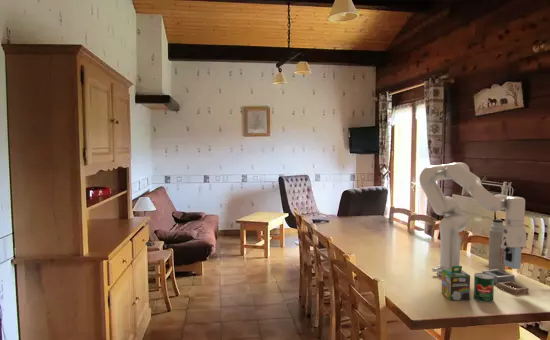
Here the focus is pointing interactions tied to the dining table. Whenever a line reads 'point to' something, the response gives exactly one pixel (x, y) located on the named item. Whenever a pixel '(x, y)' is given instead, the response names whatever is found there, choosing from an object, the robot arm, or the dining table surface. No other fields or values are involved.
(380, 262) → the dining table surface
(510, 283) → the brown rectangular tray
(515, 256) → the light blue block
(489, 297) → the canned tomato
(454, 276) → the chalk box
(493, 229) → the thermos bottle
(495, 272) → the port
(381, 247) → the dining table surface
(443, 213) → the robot arm
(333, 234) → the dining table surface
